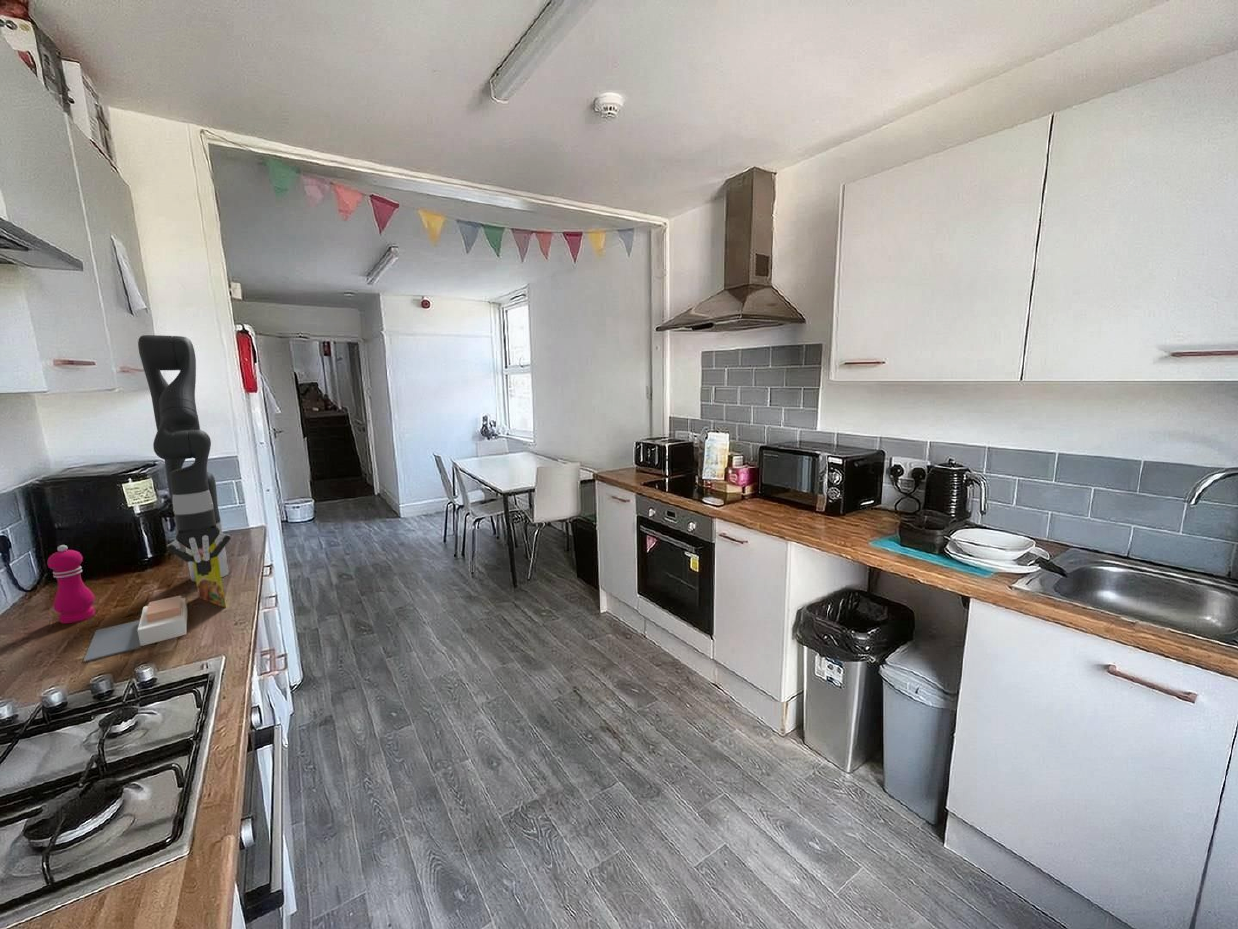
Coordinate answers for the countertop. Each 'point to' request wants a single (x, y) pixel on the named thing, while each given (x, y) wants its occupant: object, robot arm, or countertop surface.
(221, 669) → the countertop surface
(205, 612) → the countertop surface
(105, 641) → the rubber mat
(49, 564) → the pepper mill
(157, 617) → the terracotta tile
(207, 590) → the food package
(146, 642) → the white box
